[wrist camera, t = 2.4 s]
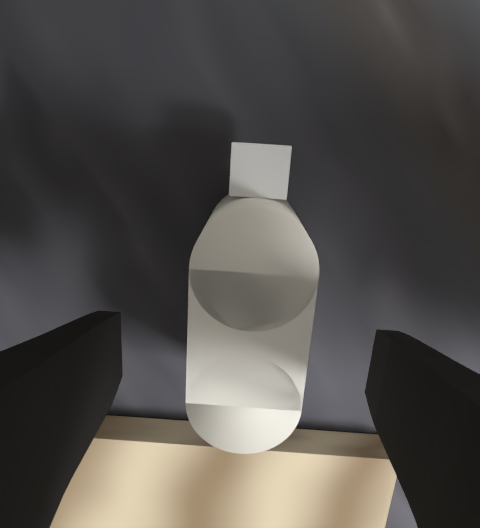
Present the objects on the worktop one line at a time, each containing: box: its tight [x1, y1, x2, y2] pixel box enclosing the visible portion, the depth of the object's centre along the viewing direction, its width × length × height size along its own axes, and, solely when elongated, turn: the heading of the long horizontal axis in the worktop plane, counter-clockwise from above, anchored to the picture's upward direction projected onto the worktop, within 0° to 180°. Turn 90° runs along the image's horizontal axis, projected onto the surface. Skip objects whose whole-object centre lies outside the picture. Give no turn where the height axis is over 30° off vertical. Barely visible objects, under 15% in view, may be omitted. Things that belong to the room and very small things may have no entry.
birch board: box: [50, 415, 397, 528], centre depth 19 cm, size 16×10×2 cm, turn 86°
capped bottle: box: [186, 142, 319, 454], centre depth 14 cm, size 4×10×5 cm, turn 176°
